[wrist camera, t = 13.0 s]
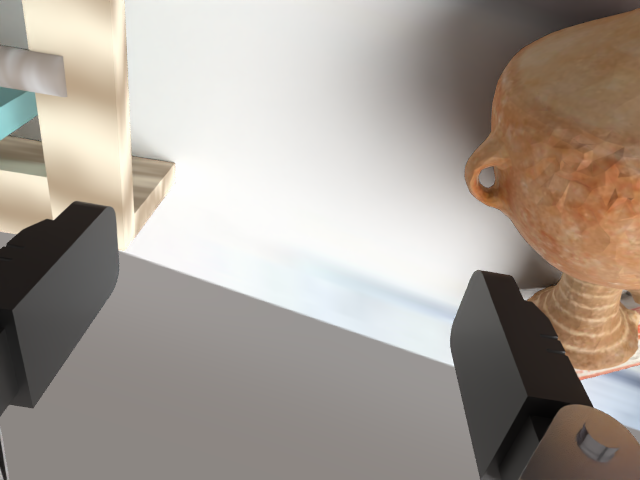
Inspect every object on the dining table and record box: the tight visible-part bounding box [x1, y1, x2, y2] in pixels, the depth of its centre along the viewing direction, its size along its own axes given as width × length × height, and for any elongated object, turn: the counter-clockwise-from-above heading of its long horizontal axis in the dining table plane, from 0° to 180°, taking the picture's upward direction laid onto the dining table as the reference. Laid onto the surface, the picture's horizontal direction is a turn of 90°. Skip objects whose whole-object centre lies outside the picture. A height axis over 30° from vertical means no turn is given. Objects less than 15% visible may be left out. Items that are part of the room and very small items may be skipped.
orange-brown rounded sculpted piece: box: [465, 8, 640, 371], centre depth 36 cm, size 20×19×30 cm
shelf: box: [0, 0, 175, 251], centre depth 34 cm, size 24×20×13 cm
